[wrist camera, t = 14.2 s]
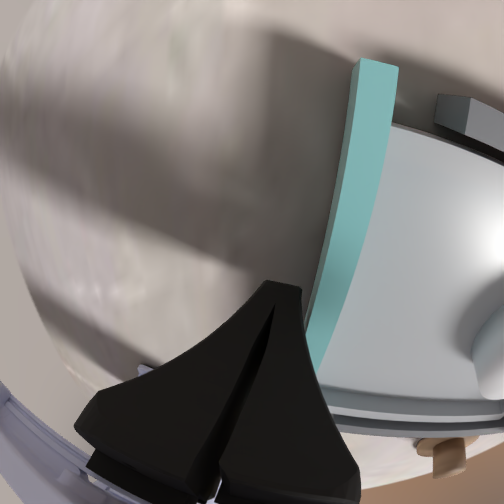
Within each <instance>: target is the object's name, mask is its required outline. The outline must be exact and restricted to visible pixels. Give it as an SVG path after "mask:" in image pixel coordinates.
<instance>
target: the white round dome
mask: <svg viewBox="0 0 504 504" xmlns="http://www.w3.org/2000/svg"><path fill="white" fill-rule="evenodd" d="M471 355H472V360H473V364H474V368H475V372H476V376H477V381H478V385H479V390H480V393H481V395H482V396H483V397H485V398H487V399H491V400H499V399H504V305H503V306H501V307H500V308H499V309H498V310H497V311H496V312H494V313H493V314H492V315H491V317H490V318H489V319H488V320H487V321H486V322H485V323H484V325H483V326H482V327H481V329H480V330H479V332H478V334H477V335H476V337H475V340H474V342H473V345H472V350H471Z"/></svg>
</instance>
